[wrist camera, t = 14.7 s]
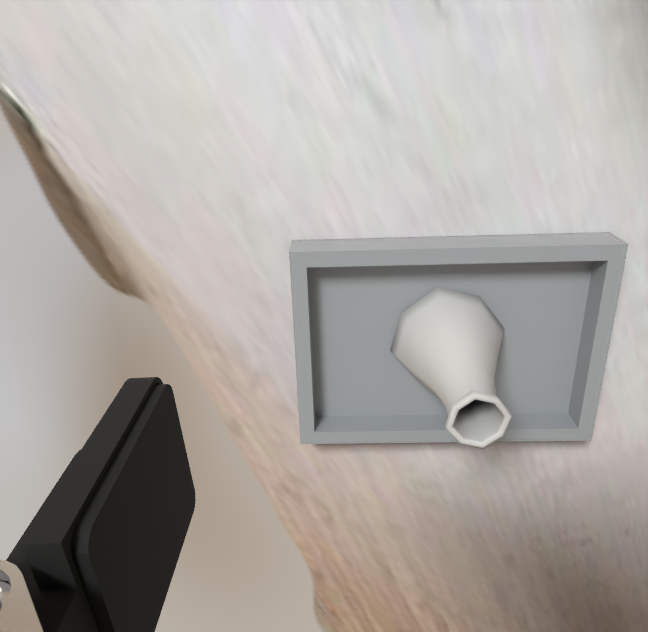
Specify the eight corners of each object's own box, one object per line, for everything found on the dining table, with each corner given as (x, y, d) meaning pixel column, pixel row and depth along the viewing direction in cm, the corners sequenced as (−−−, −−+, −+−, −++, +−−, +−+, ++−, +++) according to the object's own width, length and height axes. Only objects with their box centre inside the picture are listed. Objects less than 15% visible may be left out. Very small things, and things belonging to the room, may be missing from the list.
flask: (522, 321, 38) (581, 403, 29) (456, 400, 40) (491, 499, 31) (433, 267, 36) (465, 334, 27) (371, 352, 39) (380, 440, 30)
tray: (292, 240, 36) (289, 252, 34) (609, 232, 36) (628, 243, 33) (302, 423, 42) (300, 444, 40) (577, 419, 41) (591, 440, 39)
